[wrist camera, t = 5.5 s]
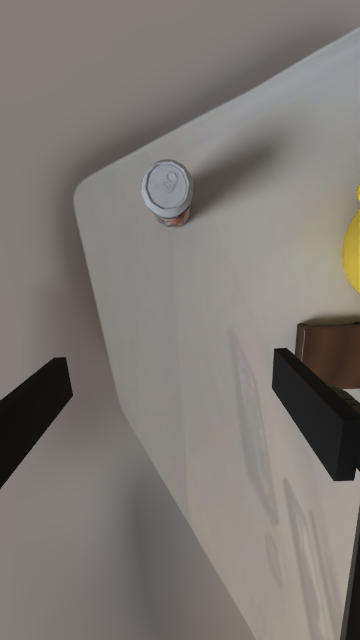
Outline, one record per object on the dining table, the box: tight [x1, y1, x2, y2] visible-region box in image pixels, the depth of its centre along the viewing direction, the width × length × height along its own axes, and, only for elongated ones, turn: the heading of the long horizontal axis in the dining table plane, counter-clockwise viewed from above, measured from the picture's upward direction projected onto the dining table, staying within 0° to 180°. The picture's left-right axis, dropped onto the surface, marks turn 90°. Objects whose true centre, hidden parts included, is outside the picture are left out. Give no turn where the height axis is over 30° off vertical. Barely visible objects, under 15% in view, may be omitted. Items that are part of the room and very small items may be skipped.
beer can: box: [142, 159, 194, 229], centre depth 27 cm, size 5×5×12 cm
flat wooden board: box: [295, 322, 360, 389], centre depth 37 cm, size 10×10×2 cm
